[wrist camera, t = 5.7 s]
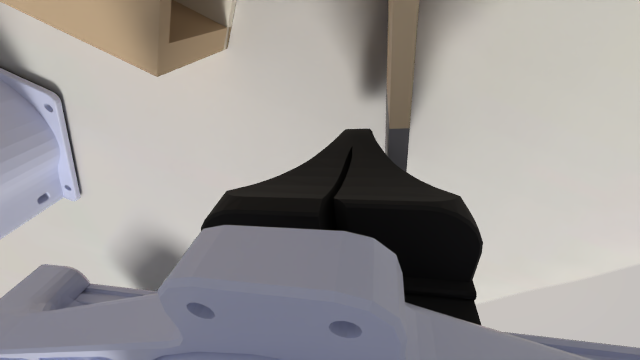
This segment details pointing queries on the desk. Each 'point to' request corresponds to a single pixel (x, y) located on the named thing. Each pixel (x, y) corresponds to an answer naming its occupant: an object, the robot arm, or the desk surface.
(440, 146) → the desk surface
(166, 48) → the carton
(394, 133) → the carton flap
